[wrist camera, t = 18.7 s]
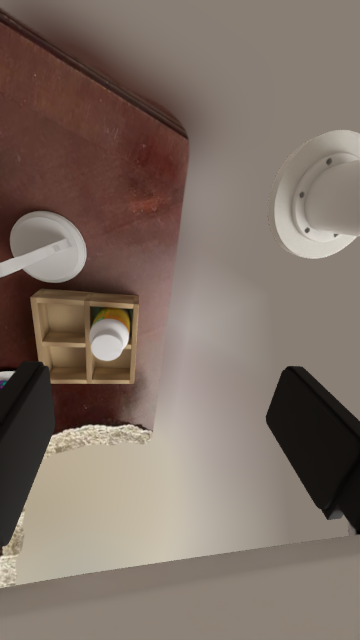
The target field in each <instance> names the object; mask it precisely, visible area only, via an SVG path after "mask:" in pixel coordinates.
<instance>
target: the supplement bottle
mask: <svg viewBox="0 0 360 640" xmlns="http://www.w3.org/2000/svg"><path fill="white" fill-rule="evenodd" d="M130 322H131V318H130V314H129V312H128V310H127V309H126V308H112V307H101V308H100V310H99V311H98V313H97V315H96V318H95V320H94V322H93V325H92V327H91V330H90V333H89V340H90V343H91V351H92V353H93V355H94V356H95V357H96V358H98V359H100V360H104V361H111V360H114V359H116V358H117V357H119V356H120V354H121V353H122V350H123V349H124V348H125V347H126V345H127V343H128V340H129V332H130Z"/></svg>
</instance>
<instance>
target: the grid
mask: <svg viewBox="0 0 360 640" xmlns="http://www.w3.org/2000/svg"><path fill="white" fill-rule="evenodd" d="M30 300H31V307H32V315H33V323H34V330H35V338H36V346H37V353H38V361H39V362H43V364H44V366H48V367H49V372H50V381H51V383H87V384H91V383H92V384H129V383H130V384H134V376H135V360H136V344H137V328H138V312H139V296H136V295H123V294H109V293H95V292H81V291H68V290H54V289H40V290H39V291H38V292H36V293H35V294H34V295H32V296H31V297H30ZM101 307H112V308H126V309H127V310H128V312H129V314H130V318H131V322H130V332H129V340H128V343H127V345H126V347H125V348H124V349H123V350H122V353H121V354H120V356H119V357H117V358H116V359H114V360H111V361H104V360H100V359H98V358H96V357H95V356H94V355H93V353H92V351H91V343H90V340H89V333H90V330H91V327H92V325H93V322H94V320H95V318H96V315H97V313H98V311H99V310H100V308H101Z"/></svg>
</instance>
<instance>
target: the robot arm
mask: <svg viewBox="0 0 360 640" xmlns="http://www.w3.org/2000/svg"><path fill="white" fill-rule="evenodd" d="M299 194H300V196H299ZM292 217H293V221H294V224H295V227H296V228H297V230H298V232H299V233H300V234H301V235H302V236H303V237H305V238H307V239H308V240H312V241H316V242H328V241H331V240H334V239H336V238H338V237H340V236H342V235H351V236H360V159H359V158H358V157H357V156H355V155H353V154H350V153H344V152H340V153H334V154H331V155H328V156H325V157H323V158H322V159H320V160H318V161H317V162H315V163H314V164H313V165H312V166H311V167H310V168H309V169H308V170H307V171H306V172H305V174H304V175H303V177H302V178H301V179H300V181H299V183H298V185H297V187H296V190H295V193H294V196H293V202H292ZM266 422H267V425H268V426H269V428H270V430H271V431H272V433H273V435H274V436H275V438H276V440H277V441H278V443H279V445H280V447H281V448H282V450H283V452H284V453H285V455H286V456H287V458H288V460H289V462H290V463H291V465H292V466H293V468H294V470H295V471H296V473H297V475H298V477H299V478H300V480H301V482H302V483H303V485H304V487H305V488H306V490H307V492H308V493H309V495H310V496H311V498H312V500H313V501H314V503H315V505H316V506H317V507H318V508H319V509H321V510H322V512H323V513H324V515H325V517H326V518H327V520H331V519H339V518H341V517H342V516H343V515H345V517H346V518H347V520H348V532H349V536H346V537H338V538H331V539H323V540H316V541H310V542H301V543H294V544H288V545H281V546H273V547H266V548H259V549H252V550H245V551H238V552H231V553H224V554H217V555H210V556H203V557H196V558H190V559H182V560H176V561H169V562H162V563H155V564H148V565H142V566H136V567H128V568H122V569H115V570H108V571H101V572H95V573H88V574H82V575H76V576H70V577H64V578H58V579H52V580H46V581H40V582H34V583H28V584H22V585H16V586H11V587H5V588H1V589H0V640H360V421H359V420H358V419H357V418H356V417H355V416H354V415H352V413H350V412H349V411H348V410H347V409H346V408H345V407H344V406H343V405H342V404H341V403H340V402H339V401H338V400H337V399H336V398H335V397H334V396H333V395H332V394H330V392H328V391H327V390H326V389H325V388H324V387H323V386H322V385H321V384H320V383H319V382H318V381H317V380H316V379H315V378H314V377H313V376H312V375H311V374H310V373H309V372H308V371H306V370H305V369H304V368H303V367H300V366H288V367H287V368H286V369H285V370H283V371H282V373H281V376H280V379H279V382H278V384H277V387H276V390H275V393H274V396H273V398H272V401H271V404H270V406H269V409H268V412H267V415H266ZM54 427H55V417H54V408H53V399H52V390H51V381H50V372H49V367H48V366H44V364H43V362H35V361H24V362H22V363H21V365H20V366H19V367H18V368H17V370H16V371H15V372H14V373H13V375H12V376H11V377H10V379H9V380H8V381H7V382H6V384H5V385H4V386H3V387H2V389H1V390H0V549H1V546H6V545H7V544H8V543H9V541H10V540H11V537H12V535H13V533H14V530H15V528H16V525H17V522H18V520H19V517H20V515H21V512H22V510H23V507H24V505H25V502H26V500H27V497H28V495H29V492H30V490H31V487H32V484H33V482H34V479H35V477H36V474H37V472H38V469H39V467H40V464H41V462H42V459H43V457H44V454H45V452H46V449H47V446H48V444H49V441H50V439H51V436H52V434H53V431H54Z"/></svg>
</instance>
